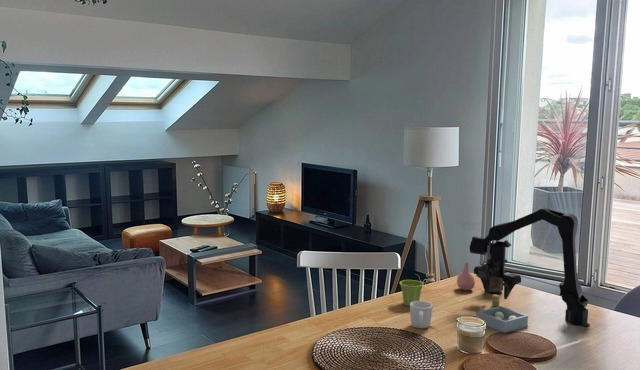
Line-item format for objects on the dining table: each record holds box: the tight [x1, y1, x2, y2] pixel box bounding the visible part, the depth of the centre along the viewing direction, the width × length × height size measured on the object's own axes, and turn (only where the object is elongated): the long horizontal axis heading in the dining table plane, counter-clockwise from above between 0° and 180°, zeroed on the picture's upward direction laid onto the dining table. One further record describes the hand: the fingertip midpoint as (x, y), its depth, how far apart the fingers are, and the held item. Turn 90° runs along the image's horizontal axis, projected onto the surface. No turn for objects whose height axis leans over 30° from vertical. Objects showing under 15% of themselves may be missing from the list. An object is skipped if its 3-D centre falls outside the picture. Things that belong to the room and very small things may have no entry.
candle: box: [486, 251, 504, 293], centre depth 228 cm, size 8×7×20 cm
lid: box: [491, 294, 500, 308], centre depth 207 cm, size 13×13×6 cm
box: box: [477, 305, 529, 333], centre depth 188 cm, size 12×12×4 cm
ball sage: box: [495, 312, 504, 320], centre depth 192 cm, size 3×3×3 cm
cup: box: [409, 300, 433, 329], centre depth 187 cm, size 11×8×8 cm
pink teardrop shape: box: [456, 262, 476, 291], centre depth 230 cm, size 8×8×12 cm
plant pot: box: [399, 279, 424, 307], centre depth 212 cm, size 9×9×9 cm
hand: (495, 296), depth 207 cm, fingers open, 9 cm apart
